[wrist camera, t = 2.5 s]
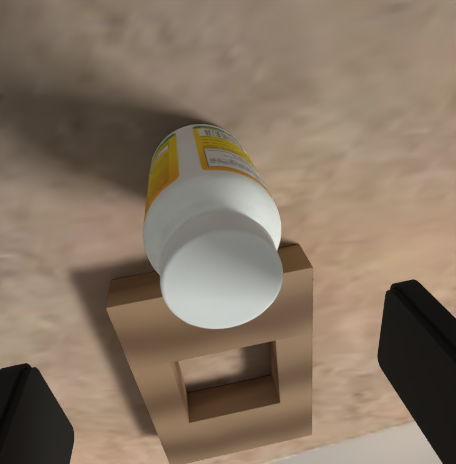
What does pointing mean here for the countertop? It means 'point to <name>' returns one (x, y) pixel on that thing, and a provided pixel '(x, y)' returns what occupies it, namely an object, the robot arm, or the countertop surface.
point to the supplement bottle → (211, 229)
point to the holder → (213, 341)
